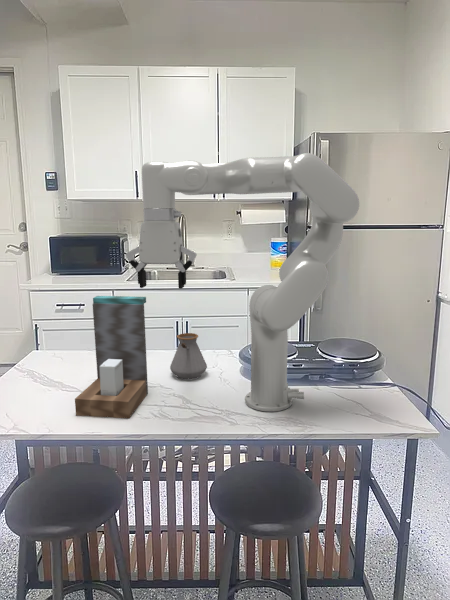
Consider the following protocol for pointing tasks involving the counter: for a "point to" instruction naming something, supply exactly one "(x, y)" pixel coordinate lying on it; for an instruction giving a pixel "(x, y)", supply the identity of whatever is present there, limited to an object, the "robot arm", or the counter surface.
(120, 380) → the skincare box
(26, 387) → the counter surface
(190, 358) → the coffee pot
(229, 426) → the counter surface
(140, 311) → the socket station
